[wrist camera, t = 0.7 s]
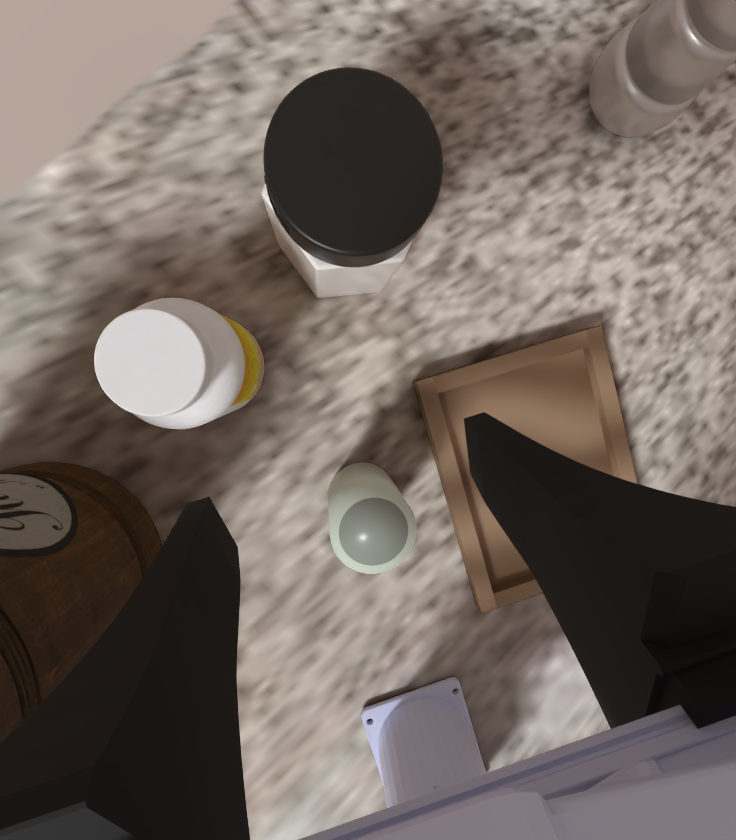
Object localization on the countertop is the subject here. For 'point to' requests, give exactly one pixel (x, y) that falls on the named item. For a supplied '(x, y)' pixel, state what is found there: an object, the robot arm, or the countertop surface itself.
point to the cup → (369, 519)
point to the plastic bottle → (661, 64)
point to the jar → (350, 178)
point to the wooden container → (61, 574)
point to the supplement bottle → (178, 363)
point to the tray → (531, 416)
